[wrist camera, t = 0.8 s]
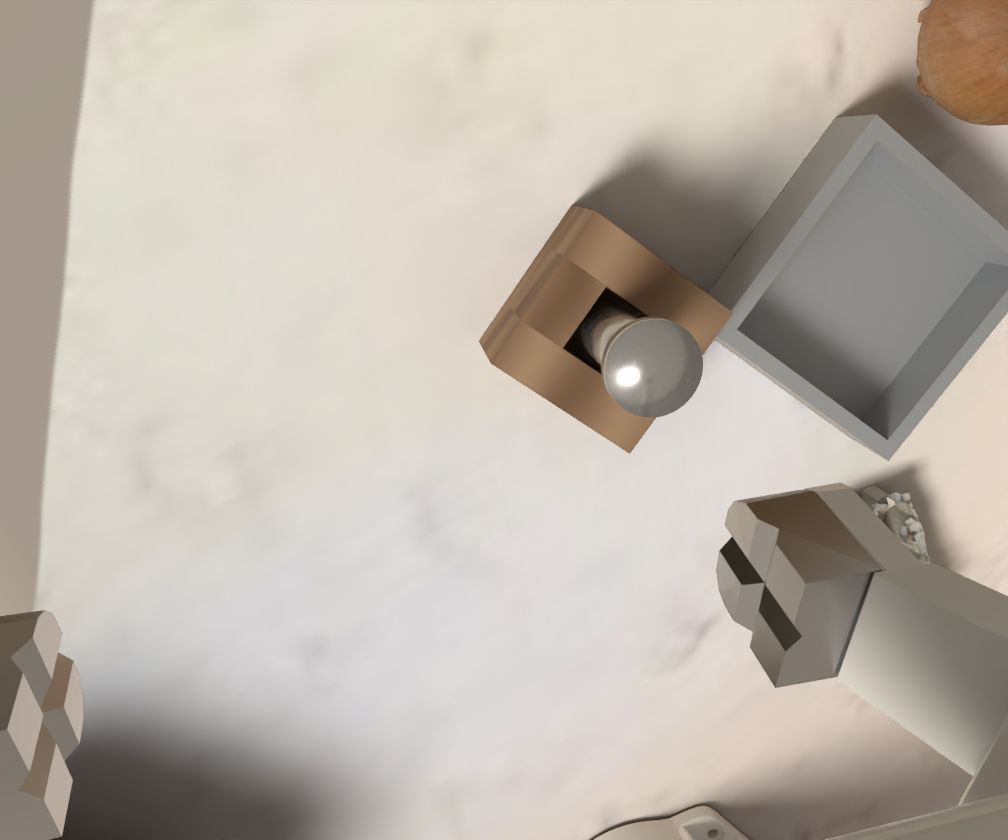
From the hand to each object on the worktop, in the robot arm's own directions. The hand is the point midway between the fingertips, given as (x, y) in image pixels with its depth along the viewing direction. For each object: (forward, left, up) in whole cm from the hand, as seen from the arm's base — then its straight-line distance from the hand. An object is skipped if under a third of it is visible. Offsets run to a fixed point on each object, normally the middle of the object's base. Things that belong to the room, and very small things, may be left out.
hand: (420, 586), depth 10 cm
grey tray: (-26, -14, -43) cm, 52 cm away
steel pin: (-13, -3, -41) cm, 43 cm away
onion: (-22, -29, -43) cm, 56 cm away
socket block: (-13, -3, -43) cm, 45 cm away
